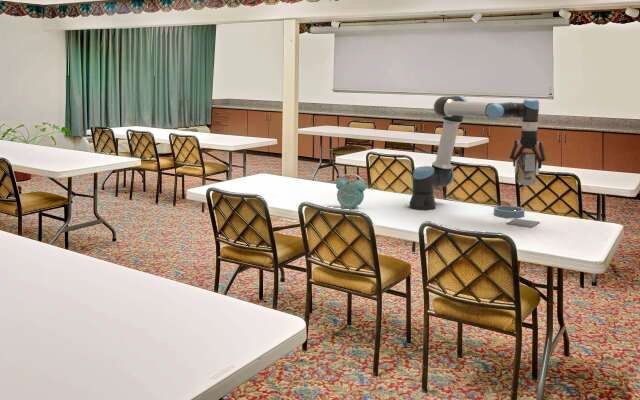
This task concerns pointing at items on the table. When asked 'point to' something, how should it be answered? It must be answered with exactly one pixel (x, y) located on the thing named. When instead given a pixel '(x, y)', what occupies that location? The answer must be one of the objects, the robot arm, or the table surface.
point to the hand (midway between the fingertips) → (526, 173)
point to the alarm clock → (350, 192)
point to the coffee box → (527, 168)
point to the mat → (523, 222)
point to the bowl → (508, 211)
